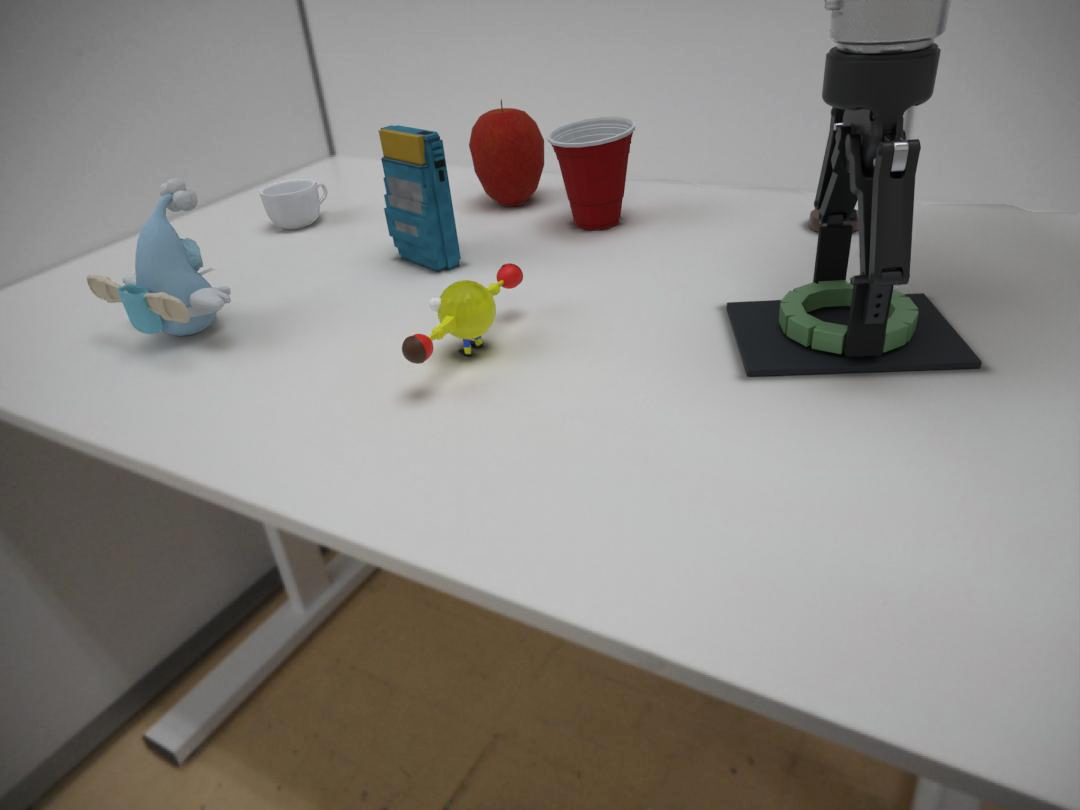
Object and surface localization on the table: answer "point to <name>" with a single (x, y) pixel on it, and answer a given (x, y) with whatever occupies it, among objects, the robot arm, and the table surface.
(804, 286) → the ring
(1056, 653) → the table surface
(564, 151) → the plastic cup
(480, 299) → the toy figure
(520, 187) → the apple
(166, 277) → the toy figure
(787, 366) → the mat
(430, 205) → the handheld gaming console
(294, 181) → the teacup
